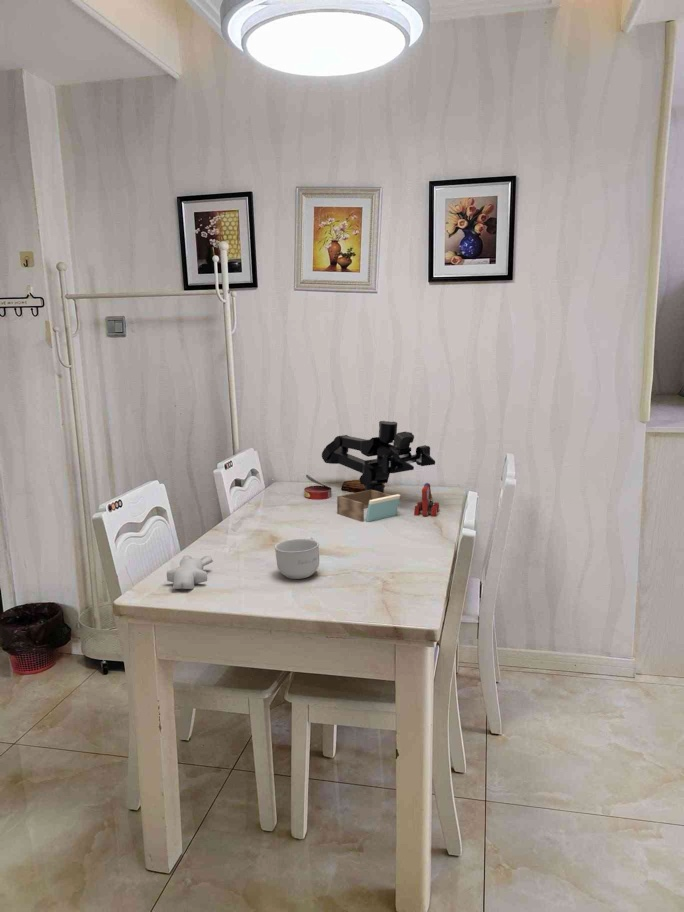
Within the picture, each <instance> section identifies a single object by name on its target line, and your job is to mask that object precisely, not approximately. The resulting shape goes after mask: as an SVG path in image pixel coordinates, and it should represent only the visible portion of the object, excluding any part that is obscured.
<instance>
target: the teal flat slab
mask: <svg viewBox="0 0 684 912" xmlns="http://www.w3.org/2000/svg"><path fill="white" fill-rule="evenodd" d="M390 495H391V496H387V497H382V498H377V499H373V500H369V505H368V508H367V510H366V517H365V519H364V521H365V522H366V523H369V522H373V521H377V520H382V519H386V518H390V517H395V516H397V515H398V514H397V513H398V508H399V503H400V499H401V494H399V493H397V494H390Z"/></svg>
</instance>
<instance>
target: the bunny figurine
mask: <svg viewBox="0 0 684 912" xmlns="http://www.w3.org/2000/svg"><path fill="white" fill-rule="evenodd" d="M213 562H214V560H213V558H212V557H211V555H206V556H203V557H202V558H192V556H190V555H184V556H182V558H181V560H180V561H179V566H178V567H176V568H174V569H173V568H172V569H171V570H168V571H167V572H166V580H167V582H170V583H172V584H173V590H194V589H195V585H196V584H201V583H205V582H208V573H207V572H208V571H206V570H204V567H205V566H207V565H209V564H211V563H213Z"/></svg>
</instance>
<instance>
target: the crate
mask: <svg viewBox="0 0 684 912" xmlns="http://www.w3.org/2000/svg"><path fill="white" fill-rule="evenodd" d="M391 495H392V494H389V493H387V492H384V493H382V492H379V491H375V490H367V491H365V490H363V491H358V492H353V493H348V494H342V495H337V496H336V497H337V498H336V502H337V503H336V504H337V507H336V508H337V510H336V511H337V512H336V513H337V515H340V516H343V517H345V518H349V519H352V520H355V521H357V522H361V523H363V522H364V521H365V516H364V515H365V512H364V511H365V510H366V509H368V505H369V500H373V499H377V498H382V497H387V496H391Z"/></svg>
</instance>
